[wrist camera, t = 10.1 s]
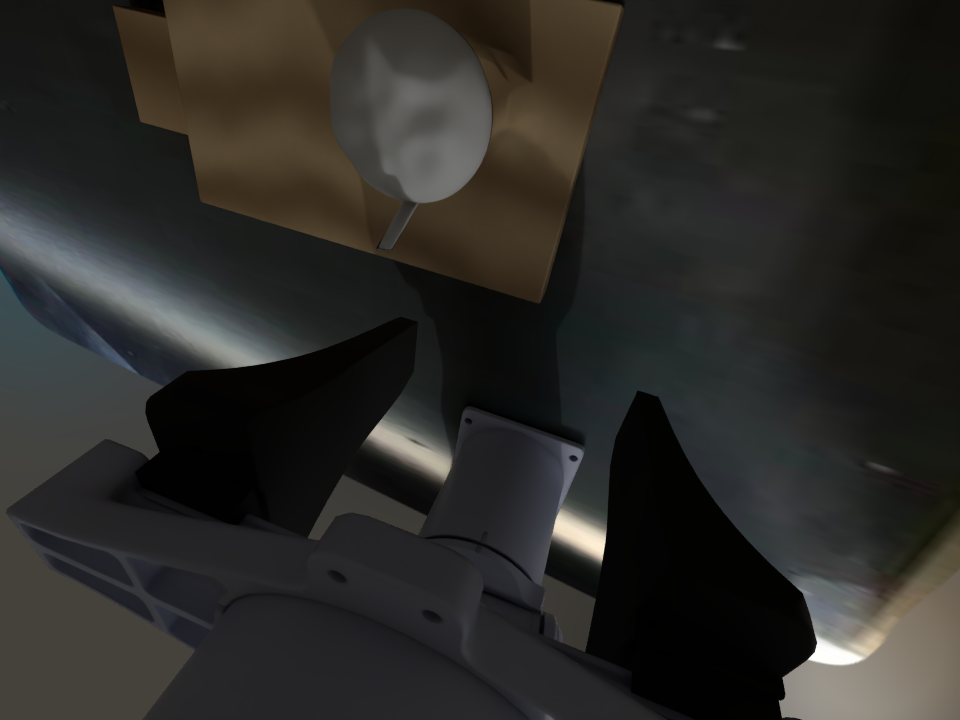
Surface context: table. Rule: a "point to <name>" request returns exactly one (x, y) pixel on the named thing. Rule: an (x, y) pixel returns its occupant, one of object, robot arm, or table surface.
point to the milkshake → (422, 107)
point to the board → (318, 156)
